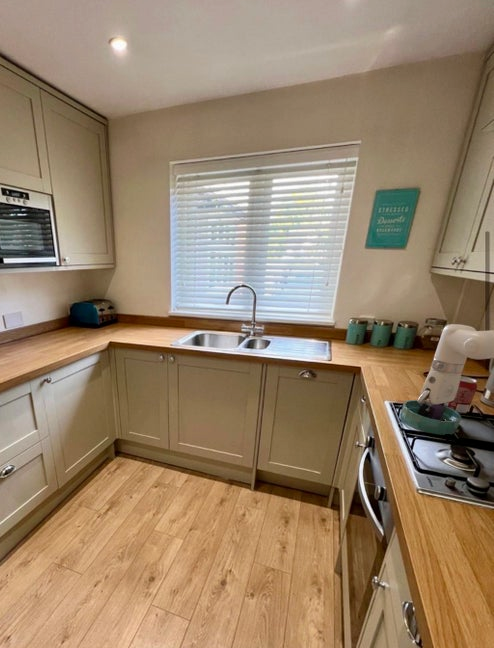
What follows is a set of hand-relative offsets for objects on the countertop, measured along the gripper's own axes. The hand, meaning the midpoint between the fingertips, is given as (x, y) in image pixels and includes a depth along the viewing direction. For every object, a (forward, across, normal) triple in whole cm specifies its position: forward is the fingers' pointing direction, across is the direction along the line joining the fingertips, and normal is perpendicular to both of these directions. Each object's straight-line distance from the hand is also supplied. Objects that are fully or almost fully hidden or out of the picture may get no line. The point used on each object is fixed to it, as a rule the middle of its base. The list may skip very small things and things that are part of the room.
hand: (428, 418), depth 106 cm
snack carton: (+1, 0, 0) cm, 1 cm away
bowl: (+2, 0, 0) cm, 2 cm away
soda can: (+2, +19, +3) cm, 20 cm away
